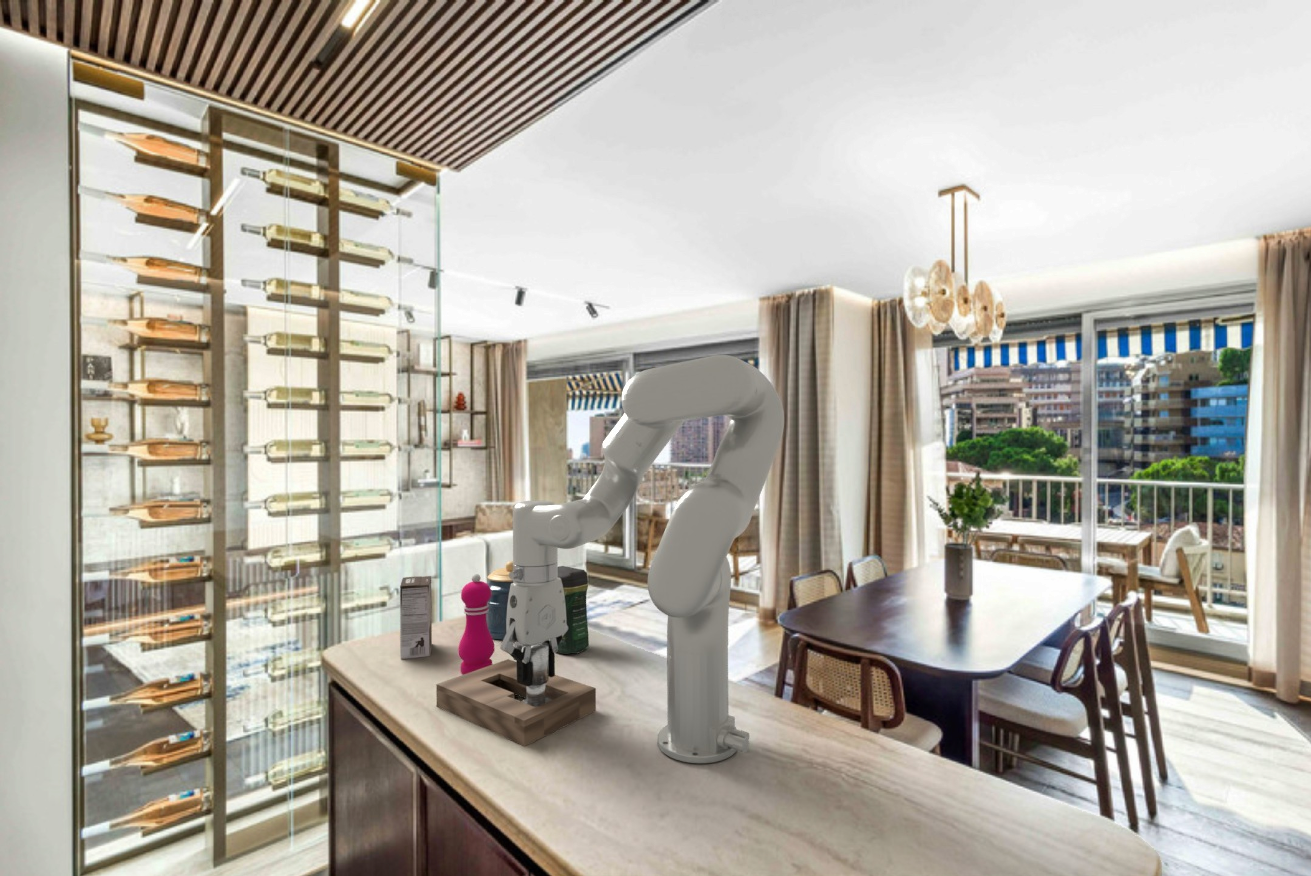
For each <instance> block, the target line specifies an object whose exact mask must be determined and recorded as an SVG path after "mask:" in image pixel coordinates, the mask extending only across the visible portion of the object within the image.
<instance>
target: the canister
mask: <svg viewBox="0 0 1311 876" xmlns="http://www.w3.org/2000/svg"><path fill="white" fill-rule="evenodd" d="M511 571H513V560H511V561H510V560H509V561H506V564H505V567H502V568H498V569H495V570H493V572H491V573H489V574H488V575H487V577H486V578H487V579H488V582H487V584H488V585H489V587H490V589H491V598H490V599H489V601H488V602H487V604H488V605H489V607H488V609H489V611H488V612H487V616H486V620H487V626H488V630H489V632H490V634H491V636H492V638H493V640H501V641H503V639H504V637H505V635H506V633H507V632H506V618H507V605H508V597H509V591H510V586H511V584H512V583H513V579H510V578H509V573H510V572H511Z"/></svg>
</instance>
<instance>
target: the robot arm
mask: <svg viewBox="0 0 1311 876" xmlns="http://www.w3.org/2000/svg"><path fill="white" fill-rule="evenodd" d="M621 407H622V409H623V415H622V416H621V417H620V418H619V421H617V423H616V424H615V426H614V427H613V428H612V429H611V431H610V432H609V433H608V435H607V436H606V437H605V439H604V440H603V442H602V444H601V452H602V454H603V457H604V465H603V469H602V471H601V474H600V475H599V476H598V478H597V480H596V482H595V483H594V484H593V485H592V487H591V488H590V490H589V491H588V492H587V493H586V495H585V496H584V497H583V498H582V499H581V498H580V499H577V500H572V501H568V502H564V503H562V502H561V503H556V504H555V503H554V502H552V501H550V500H524V501H520V502H517V503H516V504H515V505H514V507H513V509H512V561H513V571H511V572H510V573H509V578H510V579H513V583H512V584H511V586H510V591H509V597H508V605H507V618H506V632H507V633H506V635H505V637H504V639H503V640H502V642H501V643H500V646H499V648H500V650H501V651H503V652H505V653H506V654H509V655H510V657H512V659H513V661H515V662H517V682H518V683H519V684H522V685H525V686H528V687H529V686H531V685H532V662H529V658H530V652H531V646H533V645H536V644H539V643H542V642H546V643H548V644H549V677H553V676H555V675H556V670H555V669H556V665H555V664H556V663H555V662H556V660H555V659H556V653H558V652H557V651H558V645H559V643H560V641H561V639H562V637H563V636H564V634H565V633H566V632H567V630H568V626H567V624H566V606H565V596H564V590H563V585H562V581H561V578H558V567H559V566H558V563H559V562H558V549H562V550H568V549H569V550H570V549H574V548H577V547H581V546H583V545H585V544H587V543H591V542H594V541H597V540H599V539H601V538H602V537H603V536H606V535H607V533H608V532H610V530H612V528H613V527H614V526H615V525H616V524H617V522H618V520H619V519H620V518H621V516H622V515H623V514H624V513H625V511H626V510H627V509H628V507H629V506H630V504H631V503H632V501H633V500H634V498H635V496H636V494H637V492H638V489H639V488H640V485H641V484H642V482H643V478H644V476H645V474H646V472H647V471H648V470H649V469H650V467H651V466H652V464H654V462H655V460H656V459H657V458H658V456H659V455H660V454H661V452H662V451H663V450H664V448H665V447H666V446H667V445H668V444H669V442H670V441H671V440H672V438H673V437H674V436H675V434H676V433H677V431H678V430H679V428H681V427H682V425H683V424H684V422H687V421H694V420H699V419H700V420H701V419H705V418H711V417H718V416H727V418H728V425H727V429H726V432H724V433H725V434H724V435H723V437H722V439H721V441H720V443H719V445H718V447H717V449H716V452H715V455H714V458H713V460H712V463H711V465H710V467H709V470H708V472H707V474H706V475H705V478H704V479H703V480H702V481H699V482H698V483H695V484H693V485H691V486H690V487H689V488H687V489H686V490H685V491H684V492H683V494H681V496H680V498H679V499H678V500H677V502H676V504H675V505H674V508H673V510H672V512H671V515H670V517H669V519H668V522H667V524H666V527H665V530H664V532H663V534H662V536H661V539H660V542H659V544H658V546H657V549H656V552H655V554H654V557H653V559H652V561H651V564H650V567H649V570H648V574H647V590H648V594H649V598H650V600H651V601H652V604H653V605H654V606H655V607H656V609H658V610H659V611H660V612H661V613H662V614H664V615H666V616H667V624H666V625H667V627H666V683H667V684H666V687H667V688H666V691H667V695H666V696H667V697H666V698H667V701H666V702H667V703H666V705H667V707H666V709H667V714H666V715H667V718H666V719H667V724H666V725H664V727H662V729H660V730H659V732H658V734H657V746H658V747H659V750H661V752H662V753H663V754H665V755H666V756H668V757H670V758H672V759H673V760H676V761H680V762H684V763H688V764H710V763H716V762H721V761H724V760H726V759H728V758H730V757H732V756H733V755H734V754H735V753H736V752H740V753H743V754H746V753H747V752H748V750H749V746H750V743H749V742H750V740H749V739H750V732H747V731H744V730H740V729H737V727H736V726H735V725H736V721H735V719H736V717H735V716H732V715H730V714H729V614H730V612H729V610H730V597H731V590H732V589H731V586H732V571H731V566H730V562H729V559H728V557H727V556H728V554H729V552H730V549H731V547H732V545H733V542H734V541H735V539H736V538H738V537H739V536H740V535H741V534H743V532H745V531H746V529H747V528H748V526H749V525H750V522H751V519H752V517H753V515H754V511H755V509H756V506H757V503H758V501H759V498H760V496H761V493H762V491H763V489H764V487H765V483H766V481H767V479H768V476H769V473H770V470H771V467H772V465H773V463H774V460H775V459H776V455H777V453H778V450H779V447H780V445H781V441H782V437H783V432H784V428H785V427H784V426H785V412H784V406H783V403H782V399H781V398H780V395H779V393H778V392H777V390H776V388H775V386H774V385H773V384H772V382H771V381H770V380H769V378H768V377H767V376H766V375H765V374H764V373H763V372H762V371H760V369H758V368H757V367H756V366H754V365H752V364H751V363H749V362H746V361H744V360H742V359H740V358H739V357H736V356H732V355H725V354H719V355H718V354H716V355H710V356H705V357H701V358H696V359H691V360H687V361H682V362H681V361H680V362H677V363H672V364H667V365H662V366H657V367H653V368H649V369H645V370H642V371H639V372H637V373H636V374H635V375H633V376H632V377H631V378H630V379H629V380H628V381H627V382H626V384H625V386H624V387H623V389H622V394H621ZM514 643H515V645H514ZM523 647H524V649H523Z"/></svg>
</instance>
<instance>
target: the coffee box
mask: <svg viewBox="0 0 1311 876" xmlns="http://www.w3.org/2000/svg"><path fill="white" fill-rule="evenodd" d="M399 589H400V592H399V596H400V597H399V601H400V602H399V603H400V604H399V607H400V608H399V611H400V612H399V614H400V616H399V617H400V620H399V622H400V624H399V625H400V630H399V631H400V635H399V637H400V638H399V640H400V645H399V647H400V655H399V656H400V659H401V660H405V659H415V658H424V657H425V658H426V657H430V656H431V654H432V653H431V651H432V646H433V645H432V644H433V635H432V631H433V630H432V628H433V627H432V625H433V624H432V622H433V620H432V610H433V609H432V606H433V605H432V576H431V575H426V576H422V575H421V576H404V577H402V579H401V582H400V585H399Z"/></svg>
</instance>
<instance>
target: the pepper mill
mask: <svg viewBox="0 0 1311 876" xmlns="http://www.w3.org/2000/svg"><path fill="white" fill-rule="evenodd" d="M487 583H488V582H487ZM487 583H486V582H485V581H481V575H480V574H478V573H474V574H473V575H472V576H471V581H470V582H468V583H466V584H465V585H464V586H463V587H462V589H461V592H460V598H461V601H462V603H464V606H463V614H465V628H464V631H463V634H462V636H461V639H460V641H459V644H458V650H457V653H458V657H459V658H460V659H461V660H462V662H461V663H460V674H461V675H464V674H467V673H470V672H473V671H476V670H479V669H481V668H484V667H487V666H490V665H493V659H492V658H491V657H492V656H493V654H494V653H495V642H494V639H493V638H492V636H491V634H490V632H489V630H488V626H487V620H486V616H487V612H488V611H489V609H488V607H489V605H488V604H487V602H488V601H489V599H490V598H491V589H490V587H489V585H488V584H487Z"/></svg>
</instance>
